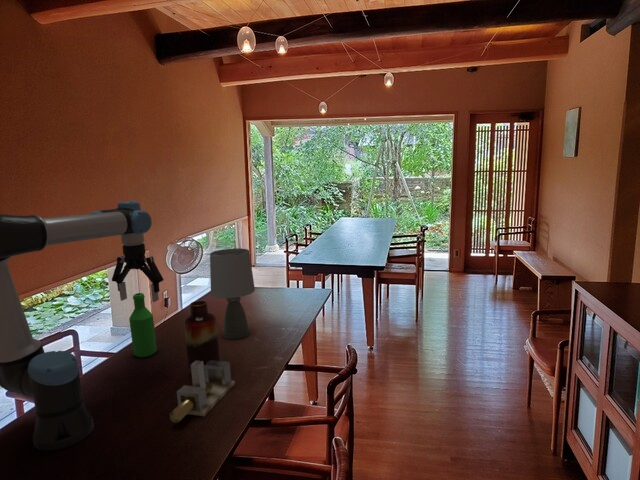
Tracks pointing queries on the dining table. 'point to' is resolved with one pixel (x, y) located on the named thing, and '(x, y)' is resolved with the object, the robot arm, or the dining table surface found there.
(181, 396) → the sleeve
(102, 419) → the dining table surface
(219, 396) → the plank
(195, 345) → the vase
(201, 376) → the slide bolt
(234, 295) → the lamp
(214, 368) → the socket
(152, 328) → the bottle
